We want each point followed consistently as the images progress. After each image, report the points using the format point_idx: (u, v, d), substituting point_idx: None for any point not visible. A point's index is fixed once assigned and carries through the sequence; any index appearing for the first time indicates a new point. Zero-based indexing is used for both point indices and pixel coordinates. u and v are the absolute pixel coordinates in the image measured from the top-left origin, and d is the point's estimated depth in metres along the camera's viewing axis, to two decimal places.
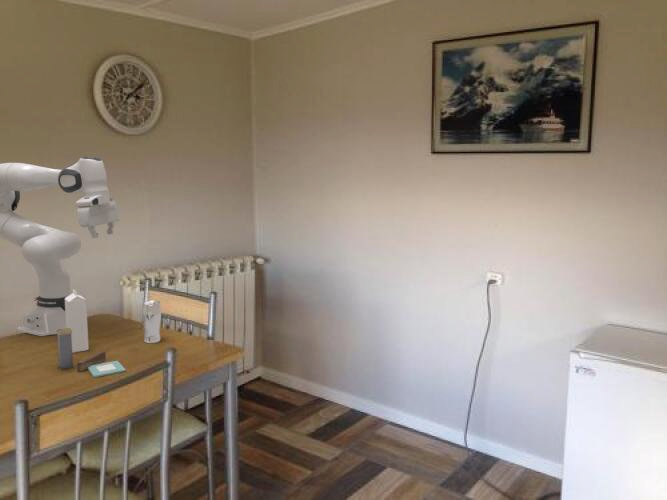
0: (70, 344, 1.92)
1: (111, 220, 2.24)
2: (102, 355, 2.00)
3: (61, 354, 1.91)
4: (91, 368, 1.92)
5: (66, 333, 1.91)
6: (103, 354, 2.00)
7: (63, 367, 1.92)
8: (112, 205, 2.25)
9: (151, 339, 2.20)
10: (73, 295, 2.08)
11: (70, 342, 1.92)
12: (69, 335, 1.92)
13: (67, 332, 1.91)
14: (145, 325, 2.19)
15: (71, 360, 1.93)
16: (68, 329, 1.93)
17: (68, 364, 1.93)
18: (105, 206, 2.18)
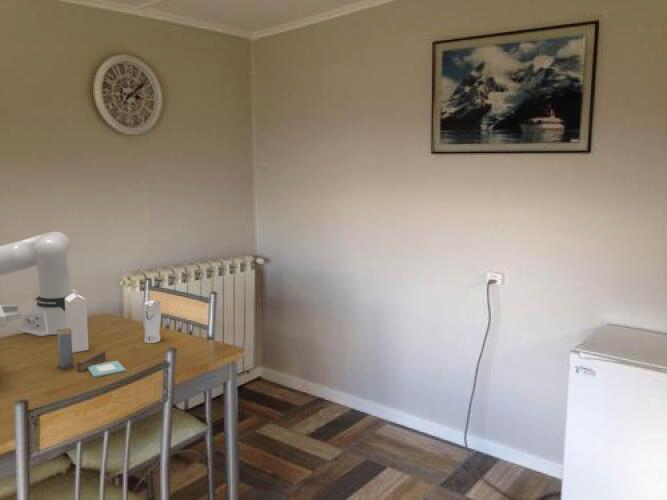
0: (70, 344, 1.92)
1: None
2: (102, 355, 2.00)
3: (61, 354, 1.91)
4: (91, 368, 1.92)
5: (66, 333, 1.91)
6: (103, 354, 2.00)
7: (63, 367, 1.92)
8: None
9: (151, 339, 2.20)
10: (73, 295, 2.08)
11: (70, 342, 1.92)
12: (69, 335, 1.92)
13: (67, 332, 1.91)
14: (145, 325, 2.19)
15: (71, 360, 1.93)
16: (68, 329, 1.93)
17: (68, 364, 1.93)
18: None
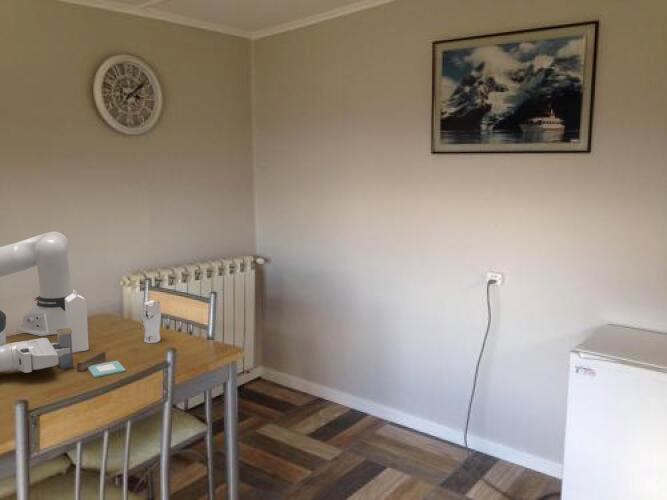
0: (70, 344, 1.92)
1: (47, 342, 1.94)
2: (102, 355, 2.00)
3: None
4: (91, 368, 1.92)
5: (66, 333, 1.91)
6: (103, 354, 2.00)
7: (63, 367, 1.92)
8: (28, 343, 1.92)
9: (151, 339, 2.20)
10: (73, 295, 2.08)
11: (70, 342, 1.92)
12: (69, 335, 1.92)
13: (67, 332, 1.91)
14: (145, 325, 2.19)
15: (71, 360, 1.93)
16: (68, 329, 1.93)
17: (68, 364, 1.93)
18: (30, 344, 1.87)
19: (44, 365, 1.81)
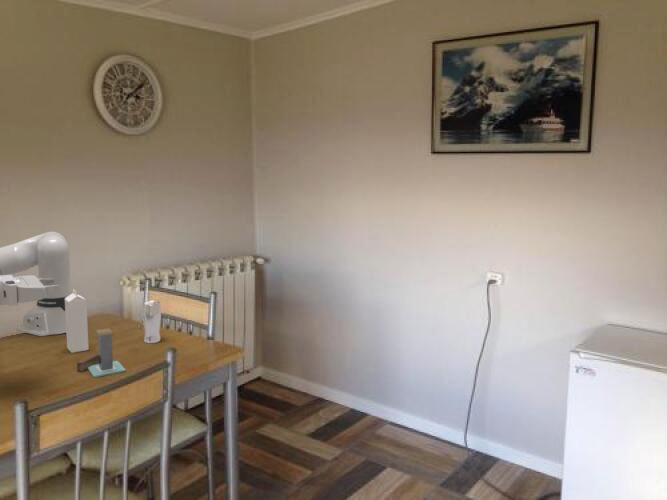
0: (110, 345, 1.91)
1: (35, 278, 1.82)
2: None
3: (101, 355, 1.89)
4: (91, 368, 1.92)
5: (106, 333, 1.89)
6: None
7: (103, 368, 1.90)
8: (14, 278, 1.81)
9: (151, 339, 2.20)
10: (73, 295, 2.08)
11: (110, 343, 1.90)
12: (109, 335, 1.90)
13: (107, 332, 1.89)
14: (145, 325, 2.19)
15: (111, 361, 1.91)
16: (108, 329, 1.91)
17: (108, 365, 1.91)
18: (16, 278, 1.75)
19: (30, 298, 1.70)
